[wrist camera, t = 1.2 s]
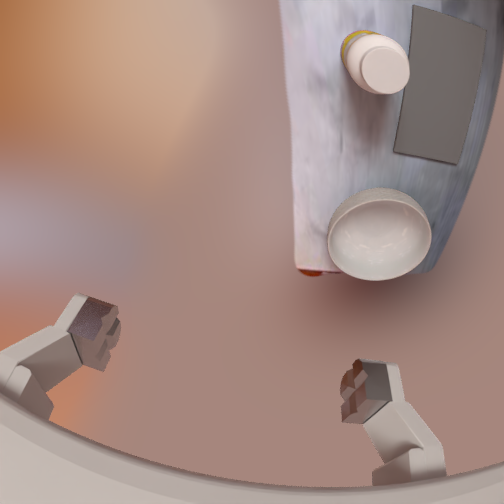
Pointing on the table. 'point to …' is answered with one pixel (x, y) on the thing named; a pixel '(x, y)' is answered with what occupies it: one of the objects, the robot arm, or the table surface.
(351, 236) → the cereal bowl
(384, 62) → the supplement bottle
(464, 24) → the mat
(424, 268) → the table surface
